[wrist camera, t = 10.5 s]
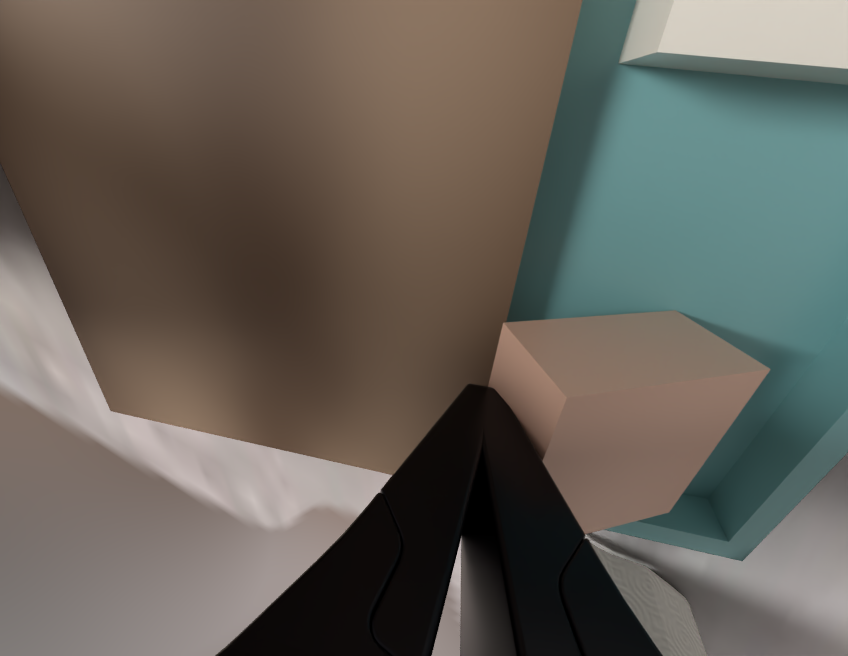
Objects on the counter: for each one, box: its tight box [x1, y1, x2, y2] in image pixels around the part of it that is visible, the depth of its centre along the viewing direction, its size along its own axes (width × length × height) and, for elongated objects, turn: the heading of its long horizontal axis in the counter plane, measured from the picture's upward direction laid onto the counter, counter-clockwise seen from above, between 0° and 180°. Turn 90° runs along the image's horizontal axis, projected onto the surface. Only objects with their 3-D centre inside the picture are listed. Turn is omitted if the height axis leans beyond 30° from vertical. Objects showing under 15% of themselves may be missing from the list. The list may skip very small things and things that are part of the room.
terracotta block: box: [488, 310, 770, 534], centre depth 8 cm, size 4×4×2 cm
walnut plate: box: [0, 0, 583, 475], centre depth 8 cm, size 11×16×3 cm
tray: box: [506, 0, 848, 561], centre depth 7 cm, size 7×16×3 cm, turn 174°
